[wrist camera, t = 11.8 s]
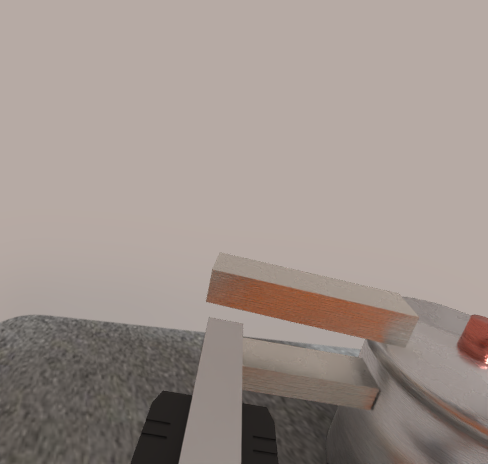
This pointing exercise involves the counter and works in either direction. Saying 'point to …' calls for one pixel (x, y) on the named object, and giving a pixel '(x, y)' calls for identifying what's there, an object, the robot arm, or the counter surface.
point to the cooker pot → (358, 406)
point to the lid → (376, 332)
